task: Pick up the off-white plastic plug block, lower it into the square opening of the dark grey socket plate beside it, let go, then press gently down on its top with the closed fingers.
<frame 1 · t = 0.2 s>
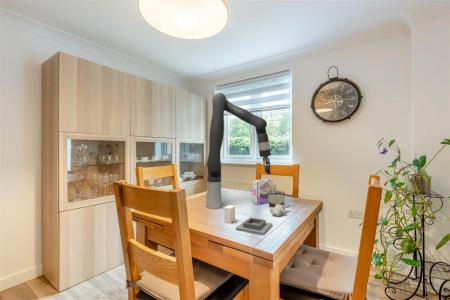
hand: (267, 173, 144), 22 cm above the table, tool pointing down, fingers open, 8 cm apart
bunny figurine: (279, 214, 130), on the table
candy box: (262, 202, 155), on the table
socket plate: (254, 227, 108), on the table
food container: (275, 206, 146), on the table
plug: (229, 221, 117), on the table
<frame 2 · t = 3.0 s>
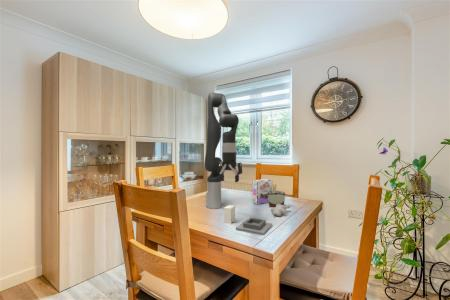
hand: (229, 181, 117), 22 cm above the table, tool pointing down, fingers open, 8 cm apart
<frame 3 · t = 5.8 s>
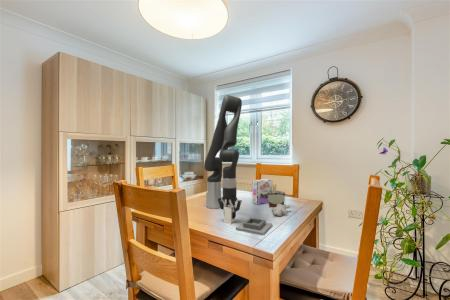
hand: (229, 217, 117), 2 cm above the table, tool pointing down, fingers closed on plug, 4 cm apart
plug: (229, 221, 117), on the table, touching gripper
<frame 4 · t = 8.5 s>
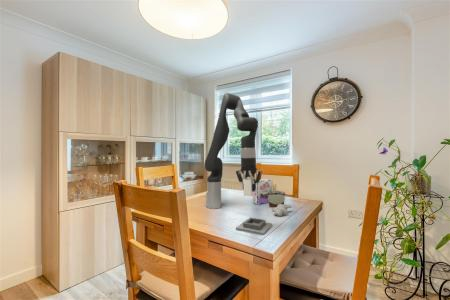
hand: (249, 190, 109), 18 cm above the table, tool pointing down, fingers closed on plug, 4 cm apart
plug: (249, 194, 109), point 16 cm above the table, touching gripper
when the fingers open (5 cm above the table, at t = 11.2 s): plug drops 1 cm, resting on socket plate.
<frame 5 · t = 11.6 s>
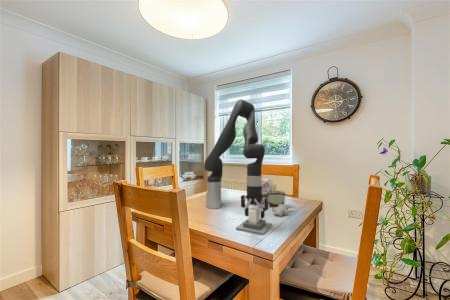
hand: (254, 217, 108), 5 cm above the table, tool pointing down, fingers open, 7 cm apart
plug: (254, 225, 108), point 1 cm above the table, touching socket plate
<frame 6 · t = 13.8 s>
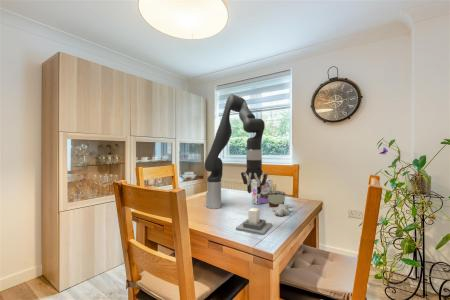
hand: (254, 193, 108), 17 cm above the table, tool pointing down, fingers open, 4 cm apart
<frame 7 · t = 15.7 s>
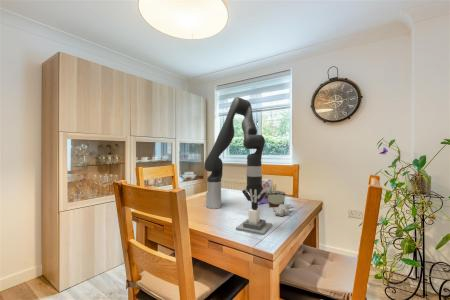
hand: (254, 209, 108), 9 cm above the table, tool pointing down, fingers closed
plug: (254, 225, 108), point 1 cm above the table, touching gripper, socket plate
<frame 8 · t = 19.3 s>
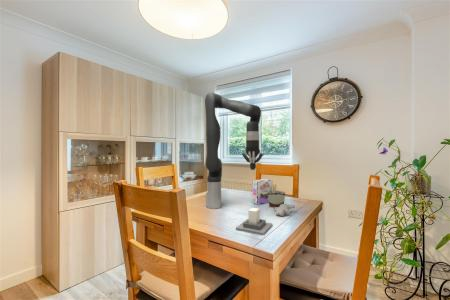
hand: (252, 169, 125), 27 cm above the table, tool pointing down, fingers closed
plug: (254, 225, 108), point 1 cm above the table, touching socket plate
at the end: plug 0.2 cm off-centre on the socket plate, point 1.0 cm above the socket plate's base; plug tilted 0°; the gripper is holding nothing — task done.
